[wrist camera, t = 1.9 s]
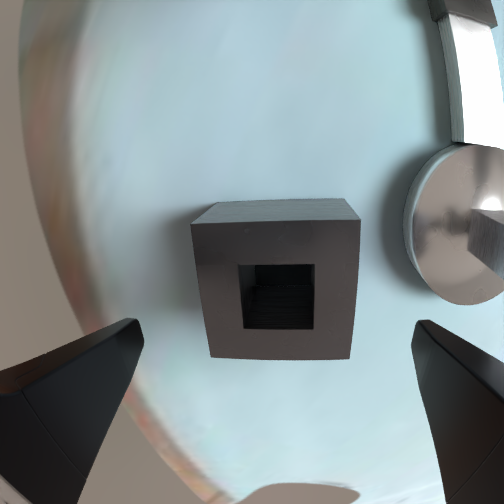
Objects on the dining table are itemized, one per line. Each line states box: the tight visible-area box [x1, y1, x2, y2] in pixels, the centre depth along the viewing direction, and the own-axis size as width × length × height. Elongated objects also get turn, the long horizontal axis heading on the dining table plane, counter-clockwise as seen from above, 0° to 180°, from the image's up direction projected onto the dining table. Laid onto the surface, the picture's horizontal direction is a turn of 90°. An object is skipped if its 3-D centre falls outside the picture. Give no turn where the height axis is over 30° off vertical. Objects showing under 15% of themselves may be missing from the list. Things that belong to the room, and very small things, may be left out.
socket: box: [190, 199, 361, 360], centre depth 13 cm, size 6×6×4 cm
